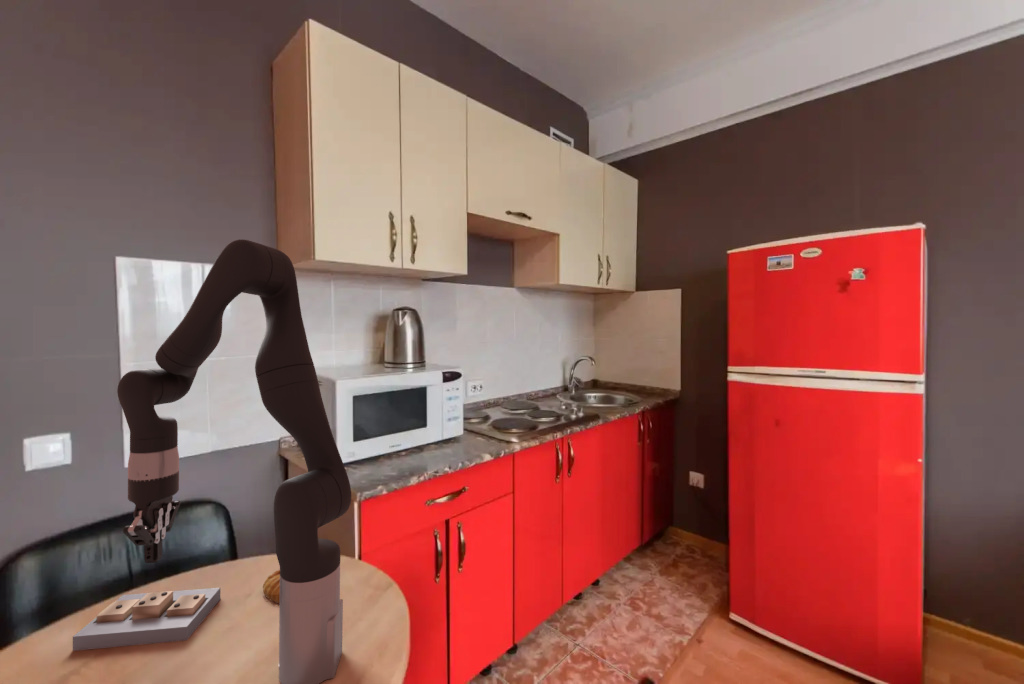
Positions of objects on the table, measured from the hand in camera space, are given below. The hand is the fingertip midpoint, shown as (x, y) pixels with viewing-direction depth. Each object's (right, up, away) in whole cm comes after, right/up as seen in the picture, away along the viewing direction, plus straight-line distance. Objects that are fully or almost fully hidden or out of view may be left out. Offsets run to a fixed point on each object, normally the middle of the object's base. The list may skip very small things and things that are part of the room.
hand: (153, 560), depth 81 cm
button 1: (-6, -11, -1) cm, 12 cm away
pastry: (+20, -13, +11) cm, 26 cm away
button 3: (0, -10, 0) cm, 10 cm away
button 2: (+6, -11, +1) cm, 12 cm away
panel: (0, -12, 0) cm, 12 cm away
